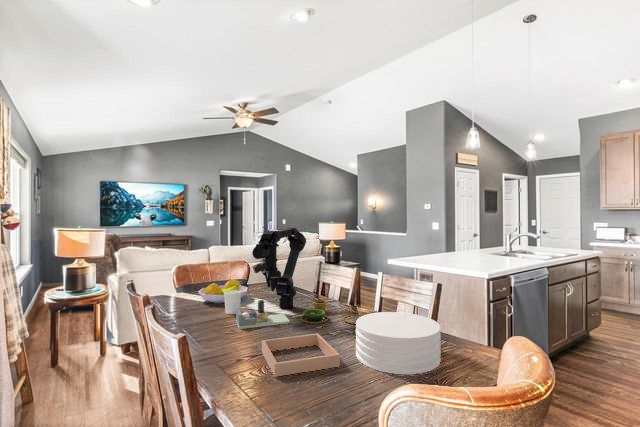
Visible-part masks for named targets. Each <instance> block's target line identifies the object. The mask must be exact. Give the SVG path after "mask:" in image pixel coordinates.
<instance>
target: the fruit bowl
mask: <svg viewBox="0 0 640 427" xmlns="http://www.w3.org/2000/svg"><path fill="white" fill-rule="evenodd" d="M233 290H236V291H241V298H243V297H245V296H246V293H247V292H248V291H247V290H248V287H247V286H244V285H241V282H240V281H239V280H237V279H235V278H231V279H230V280H228V281H227V282H225V284H224V285H223V284H222V285H221V284H220V285H218V284H217V283H215V282H213V283H211V284H209V285H208V286H207V287H203V288H201V289H200V290H198V292H197V293H198V294H199V295H200V297H201V298H202V299H203V301H207V302H212V303H215V304H225V299H224V292H226V291H233Z"/></svg>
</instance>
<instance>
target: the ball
mask: <svg viewBox="0 0 640 427" xmlns="http://www.w3.org/2000/svg"><path fill="white" fill-rule="evenodd" d="M242 313H243V314H242V315H243V319H247V318H250V314H249V313H247V311H246V312H242Z"/></svg>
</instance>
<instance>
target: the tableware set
mask: <svg viewBox="0 0 640 427" xmlns="http://www.w3.org/2000/svg"><path fill="white" fill-rule="evenodd" d="M313 304H314V305H313V306H314V309H313V308H312V309H311V308H310V309H306V310H304V311H302V314H297V315H292V316H291V318H292V319H296V318H300V321H301V322H303V323H304V322H305V324H308V323H310V324H309V325H319V324H318V323H321V324H323V322H324V323H326V322H327V321H328V320H329V316H328V315H325V314H326V306H327V302H326V300H315V301H313ZM364 315H365V314H364ZM364 315H362V314H347V315H345V316H344V317H342V320H343V322H344V323H346V322H347V324H349V323H351V324H350V325H354V324H356V323H352V322H348V321H346V320H345V318H347V317H351V316H364ZM323 317H324V318H325V319H326V320H325V319H323ZM322 320H323V321H322ZM322 326H323V325H321V326H317V327H315V329H316V328H319V329H322V328H321V327H322Z"/></svg>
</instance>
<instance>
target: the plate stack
mask: <svg viewBox="0 0 640 427" xmlns="http://www.w3.org/2000/svg"><path fill="white" fill-rule="evenodd" d="M441 328H442V327H441V325H440V324H439V323H438V322H437V321H436V320H434V319H432V318H430V317H427V316H424V315H421V314H416V313H415V314H414V313H410V312H401V311H399V312H398V311H381V312H373V313H367V314H364V316H361V317H359V318H358V319H357V320H356V325H355V334H356V335H355V337H356V339H355V357H357V358H356V360H357V359H358V360H359V361H360V362H361V363H363V364H364V365H366V366H368V367H370V368H373V369H376V370H379V371H383V372H388V373H394V374H416V373H422V372H427V371H430V370H432V369H434V368H436V367H437V366H439V364H440V362H442V359H441V355H442V354H441V353H442V351H441V348H442V347H441V346H442V345H441V339H442V338H441V337H442V336H441V332H442V330H441ZM358 360H357V361H358ZM359 361H358V362H359ZM360 362H359V363H360ZM361 363H360V364H361ZM364 365H363V366H364ZM440 365H441V364H440ZM366 366H365V367H366ZM439 367H440V366H439ZM370 368H369V369H370Z"/></svg>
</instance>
